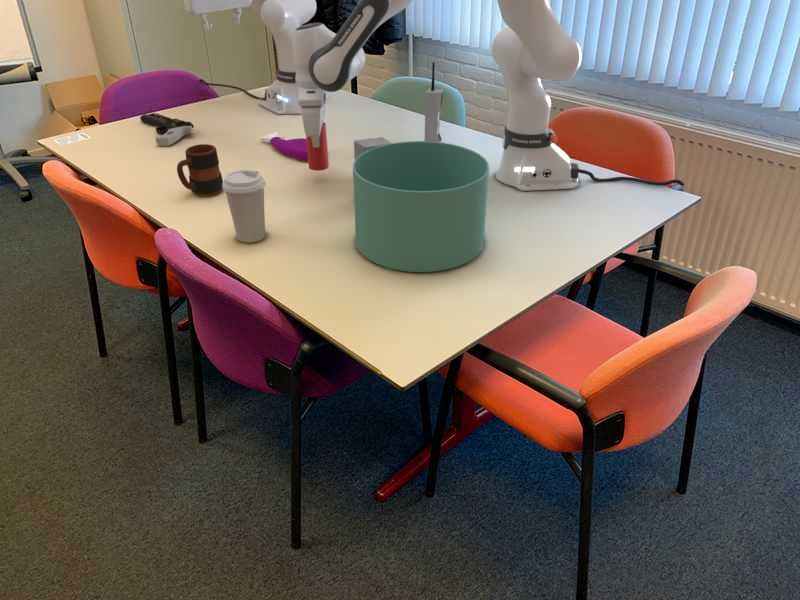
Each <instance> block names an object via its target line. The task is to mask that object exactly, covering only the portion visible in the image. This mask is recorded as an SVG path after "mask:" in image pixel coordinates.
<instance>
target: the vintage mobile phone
mask: <svg viewBox="0 0 800 600" xmlns="http://www.w3.org/2000/svg"><path fill="white" fill-rule="evenodd" d="M431 69H432V70H431V87H430V88H428V89H427V90H426V91H425V97H424V99H425V101H424V141H430V142H441V143H443V137H442V136H441V134H440V121H441V120H440V119H441V117H440V115H441V108H442V105H443V100H444V89H441V88H440V89H439V88H435V62H434V61H433V62H432V65H431Z"/></svg>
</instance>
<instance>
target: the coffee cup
mask: <svg viewBox="0 0 800 600" xmlns="http://www.w3.org/2000/svg"><path fill="white" fill-rule="evenodd" d="M265 187H266V180H265V179H264V177H263V176H262V174H261V173H260V172H259V171H257V170H255V169H238V170H233V171H230V172H229V173H227V174H226V175H225V176H224V179H223V184H222V188H223V189H222V191H224V192H225V196H226V200H227V203H228V207H229V212H230V215H231V219H232V223H233V227H234V230H235V231H234V232H235V236H236V238H237V239H236V240H238V241H239V242H242V243H245V244H246V243H247V244H249V243H256V242H257V243H258V242H260V241H262V240H263V239H264V238H265V237H266V218H265V217H266V216H265Z"/></svg>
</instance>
